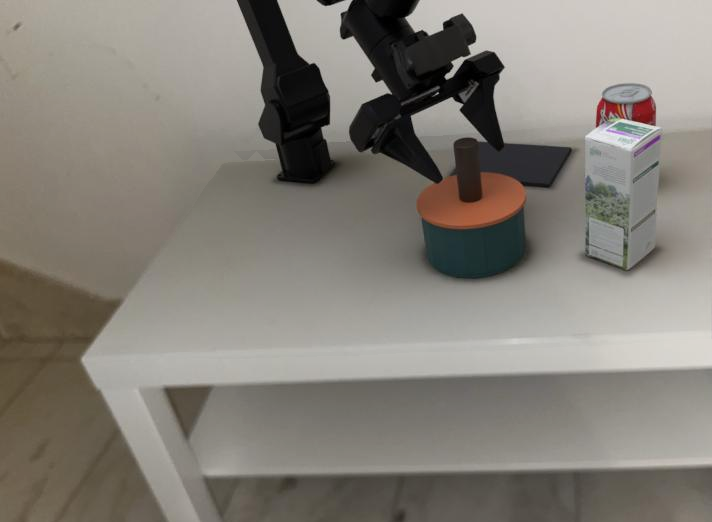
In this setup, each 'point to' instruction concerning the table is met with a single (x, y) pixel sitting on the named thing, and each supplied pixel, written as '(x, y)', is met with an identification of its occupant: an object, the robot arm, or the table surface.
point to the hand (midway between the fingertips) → (471, 165)
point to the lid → (470, 194)
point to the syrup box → (621, 191)
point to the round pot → (476, 247)
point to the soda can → (627, 104)
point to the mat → (523, 162)
